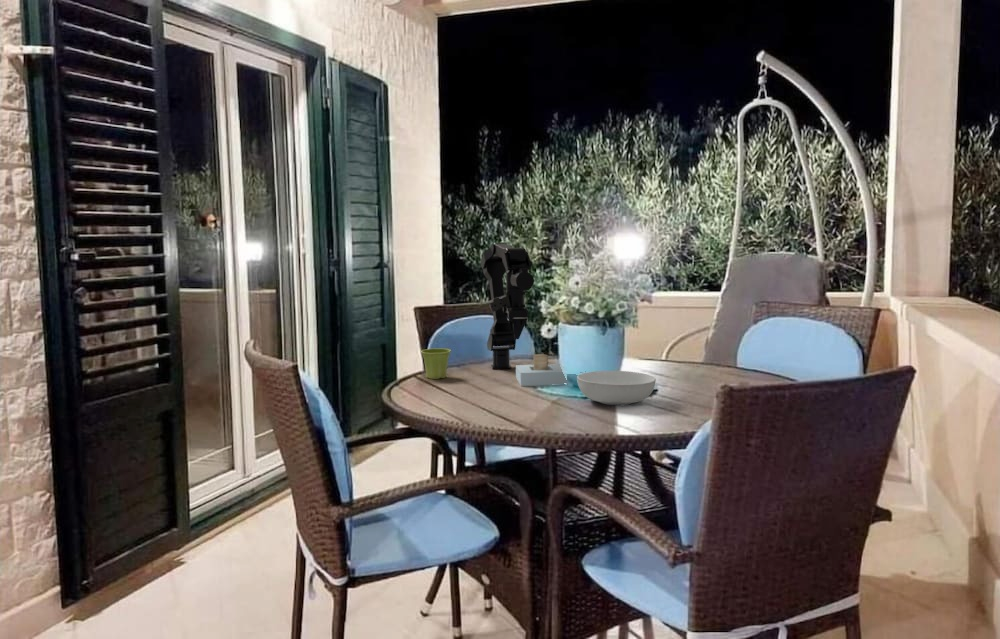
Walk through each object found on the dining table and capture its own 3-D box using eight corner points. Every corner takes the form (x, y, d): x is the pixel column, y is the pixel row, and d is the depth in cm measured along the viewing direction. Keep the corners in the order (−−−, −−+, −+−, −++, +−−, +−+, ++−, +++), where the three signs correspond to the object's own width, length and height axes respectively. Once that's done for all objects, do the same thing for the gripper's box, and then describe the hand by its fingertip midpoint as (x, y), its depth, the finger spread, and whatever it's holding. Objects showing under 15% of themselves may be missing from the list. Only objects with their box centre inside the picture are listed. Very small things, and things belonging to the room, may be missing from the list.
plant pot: (447, 380, 248) (446, 353, 247) (418, 379, 249) (417, 352, 248) (454, 375, 257) (453, 348, 256) (426, 374, 259) (425, 348, 258)
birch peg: (532, 380, 247) (532, 354, 246) (546, 379, 247) (546, 354, 246) (534, 382, 243) (534, 356, 242) (549, 382, 243) (548, 356, 242)
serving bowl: (637, 413, 200) (637, 387, 200) (563, 405, 211) (563, 379, 211) (666, 398, 218) (667, 374, 217) (597, 391, 229) (597, 367, 228)
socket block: (515, 377, 251) (515, 365, 251) (559, 376, 252) (559, 364, 252) (520, 386, 237) (520, 372, 237) (567, 384, 239) (567, 371, 238)
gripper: (487, 285, 259) (487, 333, 261) (492, 291, 240) (492, 342, 243) (521, 285, 260) (521, 332, 262) (529, 290, 242) (529, 341, 244)
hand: (515, 336), depth 253 cm, fingers open, 9 cm apart
